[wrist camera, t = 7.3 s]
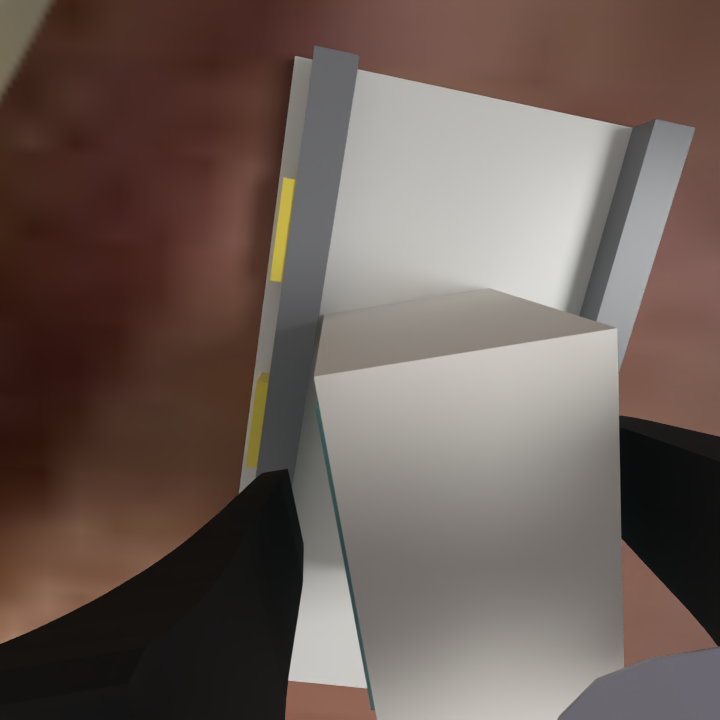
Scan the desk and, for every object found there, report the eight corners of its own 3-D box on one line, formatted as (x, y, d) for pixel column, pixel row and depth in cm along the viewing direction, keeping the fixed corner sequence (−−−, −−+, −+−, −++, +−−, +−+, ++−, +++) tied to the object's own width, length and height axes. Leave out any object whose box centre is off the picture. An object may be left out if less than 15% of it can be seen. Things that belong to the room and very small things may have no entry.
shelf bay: (296, 60, 12) (291, 40, 10) (679, 141, 12) (714, 131, 11) (217, 665, 16) (208, 699, 15) (509, 694, 17) (522, 728, 15)
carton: (496, 287, 13) (627, 326, 7) (516, 545, 15) (633, 742, 9) (318, 315, 13) (303, 377, 7) (363, 570, 15) (380, 784, 9)
